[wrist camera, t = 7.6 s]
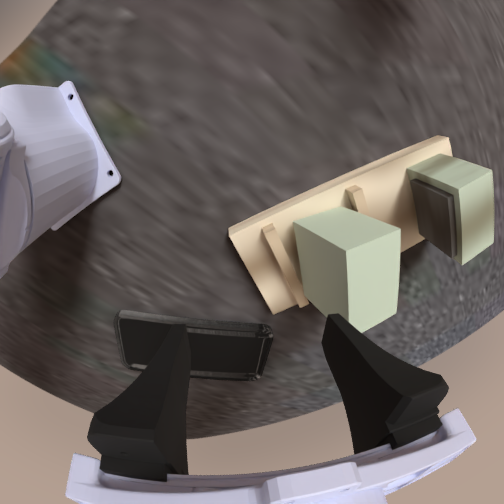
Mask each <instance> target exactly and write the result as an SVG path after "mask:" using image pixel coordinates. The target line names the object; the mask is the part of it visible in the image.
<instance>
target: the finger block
mask: <svg viewBox="0 0 504 504" xmlns="http://www.w3.org/2000/svg"><path fill="white" fill-rule="evenodd" d="M293 225H294V231H295V237H296V244H297V250H298V256H299V263H300V269H301V276H302V283H303V290H304V296H305V297H306V298H307V299H308V300H309V301H310V302H311V303H312V304H313V305H314V306H315V307H316V308H317V309H318V310H319V311H320V312H321V313H322V314H323V315H325V316H326V317H327V316H328V314H336V313H339V314H340V315H341V316H342V317H344V318H345V319H346V320H347V321H348V322H349V323H350V324H352V325H353V326H354V327H355V328H356V329H357V330H358V331H360V332H361V333H362V332H364V331H366V330H368V329H370V328H371V327H373V326H375V325H377V324H378V323H380V322H382V321H384V320H385V319H387V318H389V317H390V316H392V315H394V314H395V313H396V310H397V300H398V288H399V272H400V244H401V229H400V228H397V227H395V226H392V225H390V224H387V223H385V222H382V221H380V220H377V219H374V218H372V217H369V216H367V215H364V214H361V213H358V212H356V211H353V210H350V209H347V208H345V207H342V206H340V207H337V208H334V209H331V210H327V211H324V212H321V213H318V214H314V215H311V216H308V217H305V218H302V219H298V220H295V221H293Z"/></svg>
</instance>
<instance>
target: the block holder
mask: <svg viewBox="0 0 504 504" xmlns="http://www.w3.org/2000/svg"><path fill="white" fill-rule="evenodd" d="M340 206H342V207H345V208H347V209H350V210H353V211H356V212H358V213H361V214H364V215H367V216H369V217H372V218H374V219H377V220H380V221H382V222H385V223H387V224H390V225H392V226H395V227H397V228H400V229H401V244H400V253H401V252H403V251H405V250H406V249H408V248H410V247H412V246H414V245H415V244H417V243H419V242H421V241H422V240H424V239H427V240H428V241H429V242H431V243H432V244H433V245H435V246H436V247H437V248H439V249H440V250H441V251H443V252H444V253H445V254H447V255H448V256H449V257H450V258H454V259H455V260H456V261H457V262H459V263H460V264H461V265H463V264H465V263H466V262H468V261H469V260H471V259H472V258H473V257H475V256H476V255H478V254H479V253H480V252H482V251H483V250H484V249H486V248H487V247H488V246H490V245H491V244H492V243H493V241H494V191H493V176H492V170H490V169H487V168H485V167H482V166H479V165H476V164H473V163H470V162H467V161H464V160H461V159H458V158H454V157H452V152H451V146H450V142H449V138H448V137H444V136H439V135H437V136H435V137H432V138H430V139H427V140H425V141H422V142H420V143H417V144H415V145H412V146H410V147H407V148H405V149H403V150H400V151H398V152H395V153H393V154H391V155H388V156H386V157H383V158H381V159H379V160H376V161H374V162H372V163H369V164H367V165H365V166H362V167H360V168H358V169H355V170H353V171H351V172H349V173H346V174H344V175H342V176H339V177H337V178H335V179H333V180H330V181H328V182H326V183H324V184H321V185H319V186H317V187H315V188H313V189H310V190H308V191H306V192H304V193H302V194H299V195H297V196H295V197H293V198H291V199H289V200H286V201H284V202H282V203H280V204H278V205H276V206H274V207H271V208H269V209H267V210H265V211H263V212H261V213H259V214H257V215H254V216H252V217H250V218H248V219H246V220H244V221H242V222H240V223H238V224H236V225H234V226H232V227H230V228H229V237H230V239H231V240H232V242H233V244H234V246H235V248H236V249H237V251H238V253H239V255H240V256H241V258H242V260H243V262H244V264H245V265H246V267H247V269H248V271H249V272H250V274H251V276H252V278H253V280H254V281H255V283H256V285H257V287H258V288H259V290H260V292H261V294H262V295H263V297H264V299H265V301H266V302H267V304H268V306H269V308H270V309H271V311H272V313H273V315H274V314H276V313H278V312H281V311H283V310H285V309H287V308H290V307H292V306H294V305H296V304H298V305H299V307H300V308H301V307H304V306H306V305H308V304H309V302H308V299H307V298H306V297H305V296H304V290H303V283H302V276H301V269H300V263H299V256H298V250H297V244H296V237H295V231H294V225H293V221H295V220H298V219H302V218H305V217H308V216H311V215H314V214H318V213H321V212H324V211H327V210H331V209H334V208H337V207H340Z"/></svg>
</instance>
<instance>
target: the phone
mask: <svg viewBox="0 0 504 504" xmlns="http://www.w3.org/2000/svg"><path fill="white" fill-rule="evenodd" d="M173 324H186V328H187V334H188V339H189V344H190V350H191V372H190V377H191V378H202V379H216V380H234V381H254V380H257V379H259V378H260V377H261V376H262V373H263V370H264V367H265V364H266V361H267V357H268V354H269V351H270V347H271V344H272V341H273V333H272V330H271V328H270V327H269V326H267V325H264V324H252V323H237V322H224V321H213V320H202V319H192V318H182V317H174V316H165V315H157V314H150V313H142V312H135V311H128V310H121V311H119V312H117V314H116V316H115V318H114V328H115V333H116V339H117V344H118V349H119V354H120V359H121V362H122V364H123V365H124V366H125V367H126V368H128V369H131V370H137V371H144V369H145V368H146V367H147V366H148V364H149V363H150V361H151V360H152V359H153V357H154V356H155V354H156V353H157V351H158V350H159V348H160V346H161V345H162V343H163V341H164V340H165V338H166V336H167V334H168V332H169V330H170V329H171V326H172V325H173Z"/></svg>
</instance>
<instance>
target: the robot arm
mask: <svg viewBox="0 0 504 504" xmlns="http://www.w3.org/2000/svg"><path fill="white" fill-rule="evenodd" d="M72 94H73V99H72V100H70V96H71V95H72ZM110 170H112V171H113V176H110V175H109V171H110ZM120 182H121V175H120V173H119V172H118V170H117V168H116V166H115V165H114V163H113V161H112V159H111V157H110V156H109V154H108V152H107V150H106V148H105V146H104V144H103V143H102V141H101V139H100V137H99V135H98V133H97V131H96V129H95V127H94V125H93V124H92V122H91V120H90V118H89V116H88V114H87V112H86V110H85V108H84V106H83V103H82V101H81V99H80V97H79V95H78V93H77V91H76V89H75V87H74V84H73V83H72V82H71V81H66V82H64V83H63V84H62V85H61V86H60V87H58V88H57V87H46V86H33V85H9V86H5V87H2V88H0V278H1V277H2V276H3V275H4V274H5V273H6V272H7V271H8V266H9V263H10V262H11V261H12V260H13V259H14V258H15V257H16V256H17V255H18V254H19V253H21V252H22V251H23V250H24V249H25V248H26V247H27V246H29V245H30V244H31V243H32V242H33V241H34V240H36V239H37V238H38V237H39V236H40V235H42V234H43V233H44V232H45V231H47V230H48V229H49V228H51V229H52V230H57V229H59V228H60V227H61V226H62V225H63V224H65V223H66V222H67V221H69V220H70V219H71V218H72V217H74V216H75V215H76V214H78V213H79V212H80V211H81V210H83V209H84V208H85V207H87V206H88V205H89V204H91V203H92V202H94V201H95V200H96V199H98V198H99V197H101V196H102V195H103V194H105V193H106V192H108V191H109V190H111V189H112V188H113V187H115V186H116V185H118V184H119V183H120ZM322 346H323V350H324V354H325V357H326V360H327V362H328V365H329V367H330V370H331V372H332V374H333V377H334V379H335V381H336V383H337V386H338V388H339V390H340V393H341V396H342V399H343V403H344V406H345V410H346V414H347V418H348V422H349V426H350V431H351V436H352V442H353V448H354V455H351V456H348V457H344V458H340V459H336V460H332V461H328V462H323V463H319V464H314V465H309V466H304V467H298V468H292V469H286V470H279V471H271V472H262V473H252V474H239V475H238V474H237V475H189V474H188V462H187V448H186V447H187V446H186V404H187V396H188V388H189V380H190V372H191V350H190V344H189V339H188V334H187V328H186V324H173V325H172V326H171V329H170V330H169V332H168V334H167V336H166V338H165V340H164V341H163V343H162V345H161V346H160V348H159V350H158V351H157V353H156V354H155V356H154V357H153V359H152V360H151V361H150V363H149V364H148V366H147V367H146V368H145V369H144V371H143V372H142V373H141V374H140V375H139V377H138V378H137V379H136V380H135V381H134V382H133V383H132V384H131V385H130V386H129V387H128V388H127V389H126V390H125V391H124V392H123V393H121V394H120V395H119V396H118V397H117V398H115V399H114V400H113V401H112V402H110V403H109V404H108V405H106V406H105V407H103V408H102V409H100V410H99V411H97V412H95V413H94V416H93V418H92V421H91V424H90V428H89V432H88V436H87V438H88V441H89V442H90V444H91V445H92V446H93V447H94V448H95V449H96V450H97V451H98V452H99V453H100V454H101V455H102V456H101V461H100V460H99V459H96V458H93V457H89V456H85V455H81V454H77V453H74V454H73V458H72V462H71V467H70V472H69V477H68V482H67V488H66V494H65V495H66V497H68V498H70V499H71V500H73V501H75V502H77V503H79V504H387V501H386V498H385V495H388V494H390V493H392V492H394V491H396V490H399V489H401V488H403V487H405V486H407V485H409V484H411V483H413V482H415V481H417V480H419V479H421V478H423V477H424V476H426V475H428V474H430V473H432V472H433V471H435V470H437V469H439V468H441V467H442V466H444V465H446V464H447V463H449V462H451V461H452V460H454V459H455V458H456V457H457V456H459V455H460V454H461V453H462V452H464V451H465V450H466V449H467V448H468V447H469V446H471V445H472V444H473V443H474V442H475V441H476V438H475V436H474V434H473V432H472V430H471V429H470V427H469V425H468V424H467V422H466V420H465V418H464V417H463V415H462V414H461V412H460V410H459V409H458V408H456V409H454V410H452V411H450V412H448V413H446V414H445V415H443V416H442V417H440V418H439V417H438V415H437V414H438V413H439V410H438V408H437V406H438V405H439V404H440V402H441V401H442V400H443V399H444V397H445V396H446V394H447V392H448V389H449V387H448V385H447V383H446V382H445V380H444V379H443V378H442V376H441V375H439V374H435V373H432V372H429V371H425V370H422V369H420V368H417V367H415V366H413V365H410V364H408V363H406V362H404V361H402V360H400V359H398V358H396V357H394V356H393V355H391V354H390V353H388V352H386V351H385V350H383V349H382V348H380V347H379V346H377V345H376V344H375V343H373V342H372V341H371V340H369V339H368V338H367V337H366V336H364V335H363V334H362V333H361V332H360V331H358V330H357V329H356V328H355V327H354V326H353V325H352V324H350V323H349V322H348V321H347V320H346V319H345V318H344V317H342V316H341V315H340V314H339V313H336V314H328V316H327V320H326V325H325V330H324V334H323V338H322Z"/></svg>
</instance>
